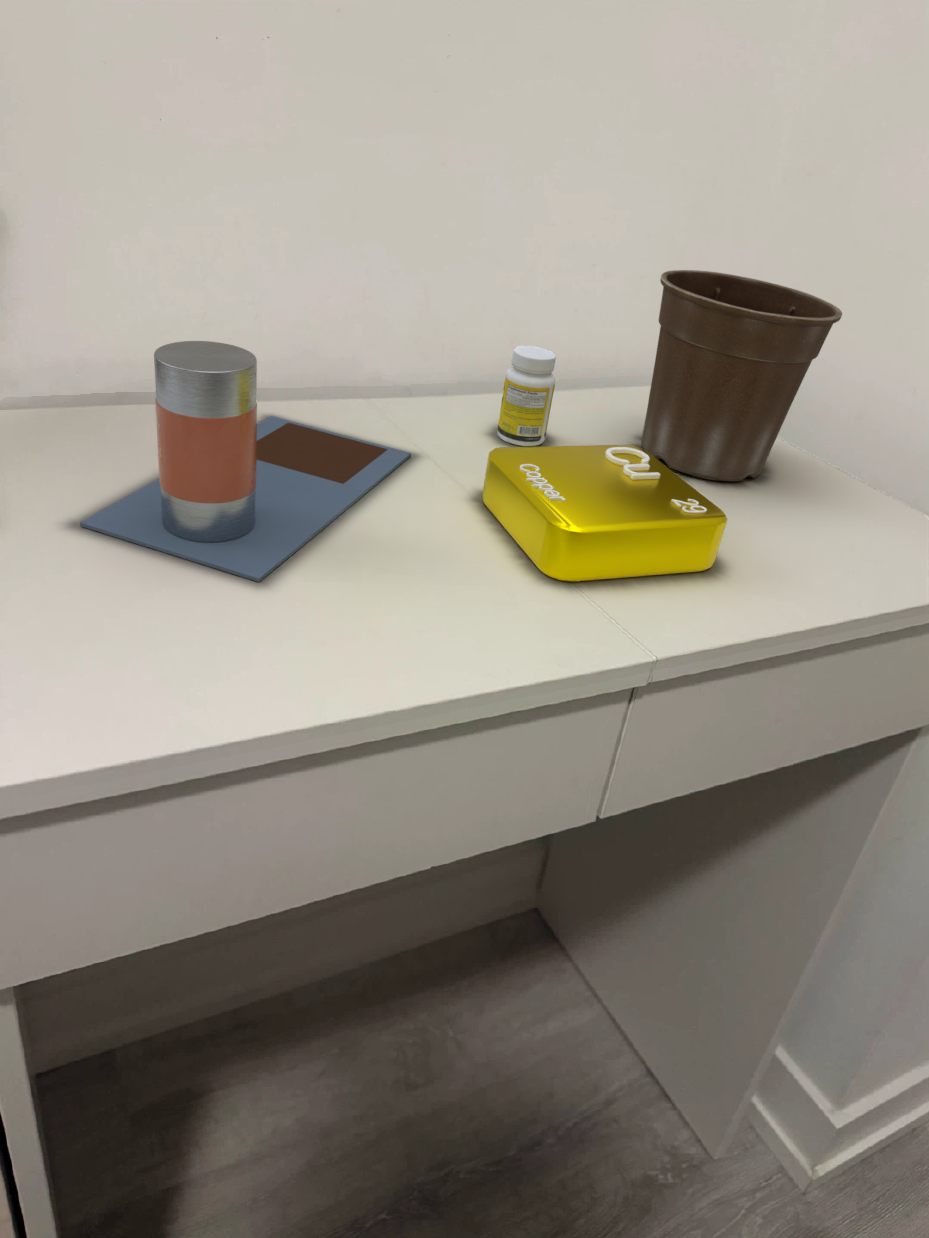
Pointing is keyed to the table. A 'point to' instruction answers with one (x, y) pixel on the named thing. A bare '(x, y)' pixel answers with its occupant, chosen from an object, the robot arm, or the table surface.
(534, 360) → the supplement bottle
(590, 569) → the element tile
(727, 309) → the plant pot
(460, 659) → the table surface
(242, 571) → the rubber mat
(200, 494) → the tin can
